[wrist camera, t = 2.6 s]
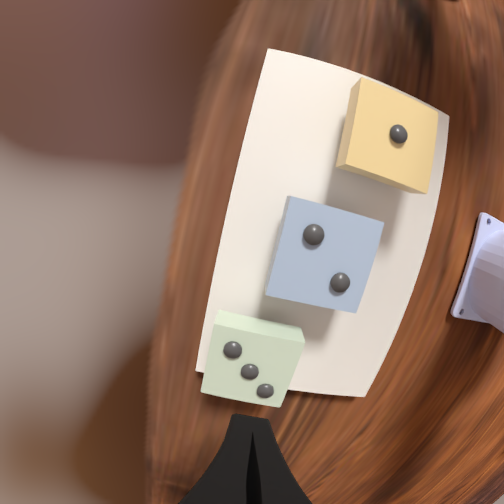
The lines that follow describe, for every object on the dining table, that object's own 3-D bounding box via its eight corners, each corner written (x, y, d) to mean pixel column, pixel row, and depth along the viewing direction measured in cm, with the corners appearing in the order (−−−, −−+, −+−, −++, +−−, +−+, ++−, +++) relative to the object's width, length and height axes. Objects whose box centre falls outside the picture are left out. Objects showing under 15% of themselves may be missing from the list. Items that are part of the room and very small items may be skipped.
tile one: (422, 118, 12) (440, 111, 10) (410, 193, 13) (429, 194, 11) (350, 88, 12) (362, 75, 10) (335, 166, 13) (346, 163, 11)
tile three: (300, 327, 15) (306, 344, 13) (278, 389, 16) (280, 409, 14) (218, 309, 15) (213, 325, 13) (205, 374, 16) (199, 394, 14)
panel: (439, 119, 14) (458, 112, 12) (360, 387, 18) (368, 406, 16) (267, 57, 14) (268, 39, 12) (198, 360, 18) (191, 380, 16)
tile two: (370, 219, 13) (386, 223, 12) (346, 300, 14) (357, 315, 13) (287, 195, 13) (291, 196, 12) (265, 283, 14) (265, 296, 12)
